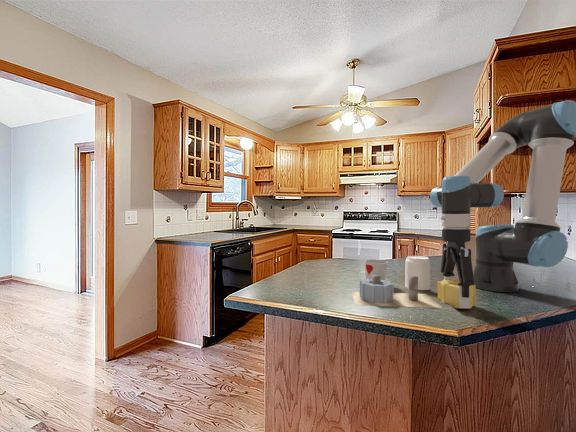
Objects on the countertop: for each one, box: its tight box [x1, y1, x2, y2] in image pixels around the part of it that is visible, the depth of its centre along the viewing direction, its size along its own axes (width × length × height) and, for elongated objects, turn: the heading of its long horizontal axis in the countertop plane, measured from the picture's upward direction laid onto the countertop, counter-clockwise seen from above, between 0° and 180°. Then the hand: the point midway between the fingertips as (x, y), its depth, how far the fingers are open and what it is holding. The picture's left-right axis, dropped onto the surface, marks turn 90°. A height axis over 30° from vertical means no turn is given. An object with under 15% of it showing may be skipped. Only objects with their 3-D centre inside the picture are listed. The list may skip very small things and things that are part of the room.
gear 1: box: [359, 278, 395, 303], centre depth 95 cm, size 10×10×5 cm
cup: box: [364, 259, 389, 281], centre depth 112 cm, size 8×8×10 cm
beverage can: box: [404, 255, 431, 291], centre depth 109 cm, size 8×8×12 cm
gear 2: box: [437, 279, 477, 309], centre depth 93 cm, size 10×10×6 cm
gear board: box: [350, 275, 443, 309], centre depth 94 cm, size 24×14×8 cm, turn 84°
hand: (456, 302), depth 93 cm, fingers closed on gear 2, 10 cm apart
